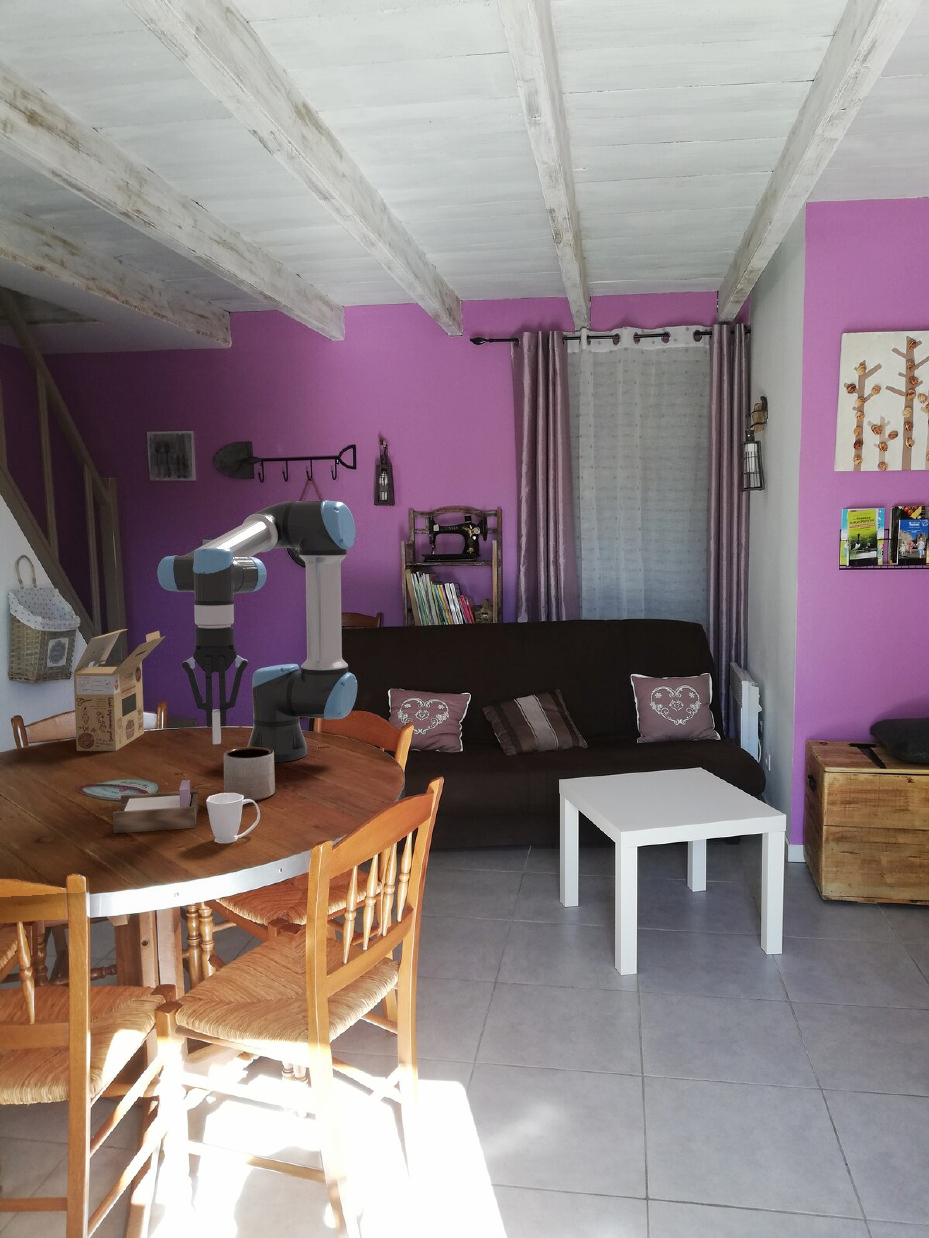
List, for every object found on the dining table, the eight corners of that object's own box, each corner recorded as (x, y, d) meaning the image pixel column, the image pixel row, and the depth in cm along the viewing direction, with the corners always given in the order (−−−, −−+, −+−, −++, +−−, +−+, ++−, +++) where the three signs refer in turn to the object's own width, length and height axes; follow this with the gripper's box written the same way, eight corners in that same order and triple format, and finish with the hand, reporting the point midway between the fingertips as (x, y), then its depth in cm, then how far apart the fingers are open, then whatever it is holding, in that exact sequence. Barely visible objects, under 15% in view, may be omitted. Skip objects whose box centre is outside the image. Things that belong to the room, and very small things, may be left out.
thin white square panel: (191, 798, 189) (190, 778, 189) (188, 813, 180) (187, 791, 180) (129, 802, 187) (128, 781, 186) (123, 817, 177) (122, 795, 177)
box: (143, 751, 240) (139, 637, 237) (68, 750, 240) (63, 637, 237) (169, 733, 261) (166, 628, 258) (100, 732, 261) (96, 628, 258)
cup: (203, 836, 174) (201, 795, 173) (255, 828, 179) (254, 788, 178) (211, 848, 168) (210, 805, 167) (265, 839, 173) (264, 797, 172)
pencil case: (198, 809, 191) (197, 790, 191) (195, 827, 179) (194, 807, 179) (121, 814, 188) (121, 795, 187) (113, 833, 176) (112, 813, 176)
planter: (284, 790, 205) (283, 748, 204) (258, 804, 194) (257, 760, 193) (242, 786, 208) (241, 744, 207) (214, 799, 198) (212, 756, 197)
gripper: (248, 623, 187) (250, 737, 190) (181, 624, 184) (184, 740, 187) (248, 627, 180) (250, 745, 182) (178, 628, 177) (181, 748, 179)
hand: (216, 742), depth 184 cm, fingers closed
